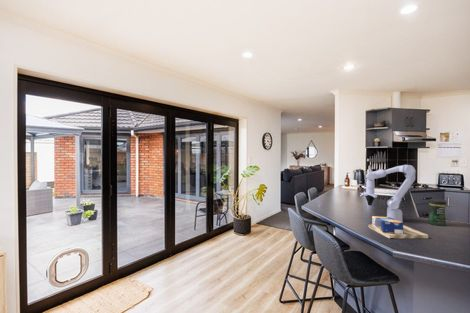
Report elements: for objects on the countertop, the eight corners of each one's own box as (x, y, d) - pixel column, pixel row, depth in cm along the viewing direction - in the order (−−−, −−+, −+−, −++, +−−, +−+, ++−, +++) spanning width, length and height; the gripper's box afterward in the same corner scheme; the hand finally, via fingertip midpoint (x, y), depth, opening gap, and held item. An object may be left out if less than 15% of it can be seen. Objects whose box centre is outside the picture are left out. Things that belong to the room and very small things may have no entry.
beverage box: (389, 227, 167) (403, 234, 145) (372, 225, 169) (383, 232, 148) (389, 217, 167) (403, 222, 146) (372, 216, 170) (382, 221, 149)
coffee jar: (432, 225, 171) (433, 199, 171) (426, 222, 179) (426, 197, 179) (448, 226, 169) (448, 200, 169) (440, 223, 177) (441, 198, 177)
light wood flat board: (402, 227, 166) (402, 224, 166) (428, 238, 145) (428, 235, 145) (368, 227, 165) (368, 224, 165) (389, 238, 144) (389, 235, 144)
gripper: (360, 186, 195) (359, 203, 195) (370, 189, 181) (370, 207, 181) (368, 186, 195) (368, 203, 196) (380, 189, 181) (379, 207, 181)
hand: (369, 205), depth 188 cm, fingers closed
